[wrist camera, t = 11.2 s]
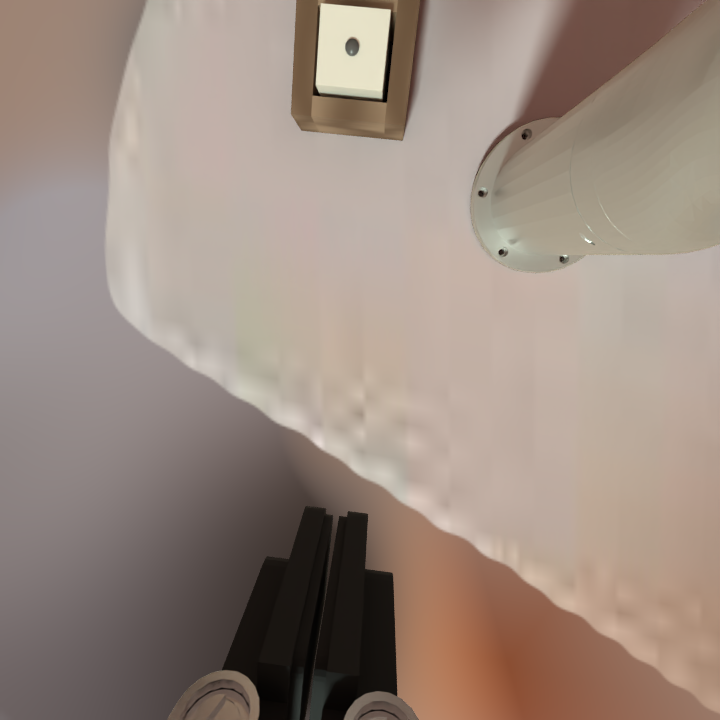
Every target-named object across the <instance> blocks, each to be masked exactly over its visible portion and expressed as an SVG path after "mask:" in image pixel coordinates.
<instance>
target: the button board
mask: <svg viewBox="0 0 720 720" xmlns="http://www.w3.org/2000/svg"><path fill="white" fill-rule="evenodd" d="M321 3H323V4H334V5H345V6H356V7H367V8H378V9H389V10H391V19H390V42H393V51H392V60H391V69H390V78H389V88H388V97H387V103H382V102H372V101H362V100H352V99H342V98H331V97H321V96H320V94H319V92H318V89H317V87H316V73H317V57H318V41H319V25H320V8H321ZM419 6H420V0H297V1H296V21H295V42H294V63H293V84H292V105H291V115H292V116H293V118H294V119H295V121H296V123H297V124H298V126H299V127H300V129H301V130H302V131H312V132H322V133H332V134H342V135H352V136H362V137H372V138H381V139H391V140H401V141H402V140H403V134H404V128H405V122H406V113H407V105H408V97H409V89H410V80H411V72H412V64H413V56H414V47H415V39H416V31H417V23H418V14H419Z"/></svg>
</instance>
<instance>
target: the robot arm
mask: <svg viewBox="0 0 720 720" xmlns="http://www.w3.org/2000/svg"><path fill="white" fill-rule="evenodd" d="M521 135H525V136H526V139H525V140H523V139H522V137H521ZM479 191H482V192H483V196H482V197H480V196H479V195H478V192H479ZM470 212H471V219H472V225H473V228H474V231H475V234H476V236H477V238H478V240H479V242H480V243H481V245H482V247H483V248H484V249H485V250H486V252H487V253H488V254H489V255H490V256H491V257H492V258H493V259H495V260H496V261H498V262H499V263H500V264H502V265H504V266H506V267H509V268H511V269H513V270H517V271H522V272H528V273H544V272H551V271H555V270H559V269H562V268H565V267H567V266H569V265H571V264H573V263H575V262H577V261H579V260H580V259H581V258H583V257H584V256H586V255H667V254H681V253H689V252H694V251H699V250H703V249H707V248H710V247H714V246H716V245H719V244H720V0H706V1H705V2H704V3H703V4H702V5H701V6H699V7H698V8H697V9H696V10H695V11H693V12H692V13H691V14H690V15H689V16H687V17H686V18H685V19H684V20H683V21H681V22H680V23H679V24H678V25H677V26H676V27H674V28H673V29H672V30H671V31H670V32H668V33H667V34H666V35H665V36H664V37H662V38H661V39H660V40H659V41H658V42H657V43H655V44H654V45H653V46H652V47H650V48H649V49H648V50H647V51H645V52H644V53H643V54H642V55H640V56H639V57H638V58H637V59H635V60H634V61H633V62H631V63H630V64H629V65H628V66H626V67H625V68H624V69H622V70H621V71H620V72H619V73H618V74H616V75H615V76H614V77H613V78H611V79H610V80H609V81H607V82H606V83H605V84H604V85H602V86H601V87H600V88H598V89H597V90H596V91H594V92H593V93H592V94H591V95H589V96H588V97H587V98H585V99H584V100H583V101H582V102H580V103H579V104H578V105H576V106H575V107H574V108H573V109H571V110H570V111H569V112H567V113H566V114H565V115H563V116H562V117H549V118H544V119H540V120H535V121H532V122H530V123H528V124H525V125H523V126H521V127H519V128H517V129H516V130H514V131H513V132H511V133H510V134H508V135H507V136H506V137H505V138H504V139H502V140H501V141H500V142H499V143H498V144H497V145H496V146H495V147H494V149H493V150H492V151H491V152H490V153H489V154H488V156H487V157H486V159H485V160H484V162H483V164H482V165H481V167H480V169H479V171H478V174H477V176H476V178H475V181H474V184H473V189H472V194H471V206H470ZM500 249H501V250H502V251H503V253H502V255H499V254H498V252H499V250H500ZM560 256H562V260H561V261H559V258H560ZM332 522H333V515H327V514H326V509H325V508H318V507H310V506H306V507H305V510H304V513H303V516H302V519H301V522H300V526H299V529H298V532H297V536H296V539H295V542H294V545H293V549H292V552H291V555H290V558H289V559H282V558H275V557H266V559H265V561H264V563H263V565H262V568H261V570H260V573H259V576H258V578H257V581H256V583H255V586H254V589H253V591H252V594H251V596H250V599H249V602H248V604H247V607H246V609H245V612H244V615H243V617H242V619H241V622H240V625H239V627H238V630H237V633H236V635H235V638H234V640H233V643H232V645H231V648H230V651H229V653H228V656H227V658H226V661H225V663H224V666H223V669H222V671H218V672H213V673H211V674H209V675H207V676H205V677H203V678H201V679H199V680H198V681H197V682H195V683H194V684H193V685H192V686H191V687H190V688H188V689H187V690H186V692H185V693H184V694H183V696H182V697H181V698H180V700H179V701H178V702H177V704H176V706H175V707H174V709H173V711H172V712H171V714H170V716H169V717H168V719H167V720H305V716H306V710H307V704H308V698H309V692H310V686H311V679H312V674H313V668H314V662H315V655H316V650H317V655H316V662H315V669H314V678H313V687H312V698H311V708H310V719H309V720H419V719H418V718H417V716H416V715H415V713H414V711H413V710H412V708H411V707H410V706H408V705H407V704H406V703H405V702H404V701H403V700H402V699H401V698H399V697H397V674H396V648H395V647H396V645H395V618H394V590H393V574H392V573H390V572H382V571H375V570H367V569H365V559H366V540H367V523H368V514H365V513H358V512H350V511H348V515H347V517H343V516H339V521H338V527H337V533H336V539H335V545H334V551H333V558H332V564H331V570H330V576H329V582H328V588H327V594H326V600H325V592H326V581H327V572H328V562H329V552H330V542H331V531H332ZM324 600H325V607H324ZM323 607H324V612H323ZM322 614H323V618H322ZM321 619H322V624H321ZM320 626H321V630H320ZM319 632H320V636H319ZM318 638H319V643H318ZM317 644H318V649H317Z"/></svg>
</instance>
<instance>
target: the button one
mask: <svg viewBox="0 0 720 720" xmlns="http://www.w3.org/2000/svg"><path fill="white" fill-rule="evenodd" d="M390 19H391V10H389V9H378V8H367V7H356V6H345V5H334V4H323V3H321V8H320V25H319V41H318V57H317V73H316V87H317V89H318V92H319V94H320V96H321V97H331V98H342V99H352V100H362V101H372V102H382V103H384V94H385V85H386V75H387V66H388V57H389V46H390Z"/></svg>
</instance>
